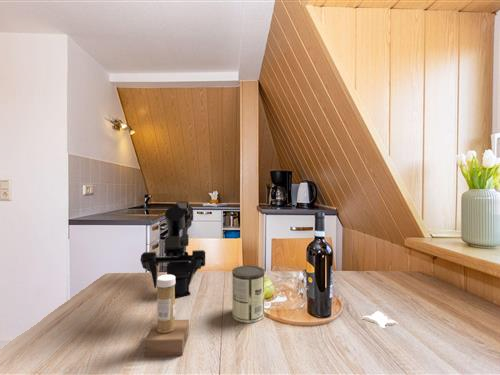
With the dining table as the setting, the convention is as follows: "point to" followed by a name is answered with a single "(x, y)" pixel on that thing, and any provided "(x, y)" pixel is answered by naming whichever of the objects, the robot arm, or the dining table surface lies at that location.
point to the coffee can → (248, 293)
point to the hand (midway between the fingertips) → (172, 286)
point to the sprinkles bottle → (166, 303)
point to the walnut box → (166, 340)
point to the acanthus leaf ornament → (379, 319)
